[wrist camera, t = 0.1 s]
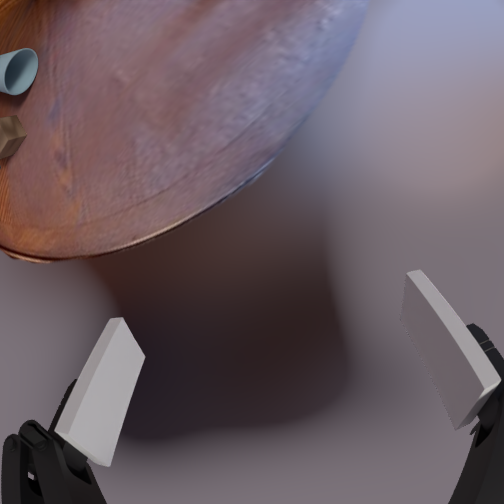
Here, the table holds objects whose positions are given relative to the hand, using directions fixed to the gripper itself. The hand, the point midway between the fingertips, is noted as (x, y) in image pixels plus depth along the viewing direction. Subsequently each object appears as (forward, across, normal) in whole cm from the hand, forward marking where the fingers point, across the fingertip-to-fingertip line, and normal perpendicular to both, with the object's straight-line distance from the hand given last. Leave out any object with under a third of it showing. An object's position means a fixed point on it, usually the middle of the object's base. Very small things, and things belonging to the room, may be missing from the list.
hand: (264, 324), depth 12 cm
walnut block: (+28, -38, +19) cm, 51 cm away
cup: (+29, -38, +32) cm, 57 cm away
